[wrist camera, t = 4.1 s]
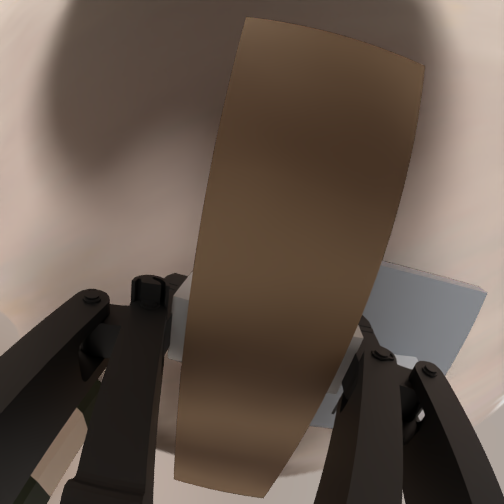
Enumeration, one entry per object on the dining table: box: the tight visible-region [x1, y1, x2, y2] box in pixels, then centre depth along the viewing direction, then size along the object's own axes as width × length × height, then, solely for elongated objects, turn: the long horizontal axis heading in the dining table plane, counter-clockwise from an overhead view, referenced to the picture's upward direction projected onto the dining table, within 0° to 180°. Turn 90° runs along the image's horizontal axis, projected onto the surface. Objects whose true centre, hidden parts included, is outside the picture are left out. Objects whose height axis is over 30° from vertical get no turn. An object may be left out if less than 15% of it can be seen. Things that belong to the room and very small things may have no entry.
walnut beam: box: [174, 17, 425, 498], centre depth 11 cm, size 20×5×4 cm, turn 168°
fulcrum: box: [309, 261, 487, 428], centre depth 16 cm, size 14×11×8 cm
